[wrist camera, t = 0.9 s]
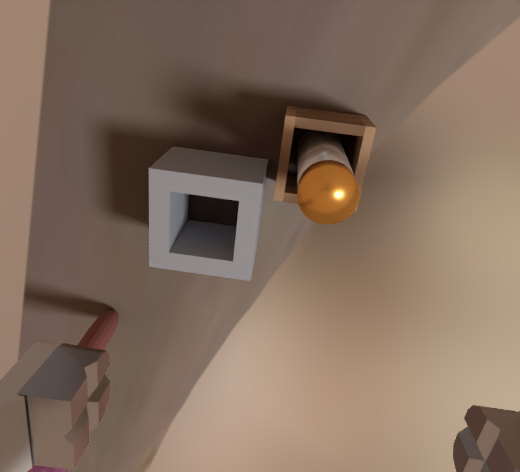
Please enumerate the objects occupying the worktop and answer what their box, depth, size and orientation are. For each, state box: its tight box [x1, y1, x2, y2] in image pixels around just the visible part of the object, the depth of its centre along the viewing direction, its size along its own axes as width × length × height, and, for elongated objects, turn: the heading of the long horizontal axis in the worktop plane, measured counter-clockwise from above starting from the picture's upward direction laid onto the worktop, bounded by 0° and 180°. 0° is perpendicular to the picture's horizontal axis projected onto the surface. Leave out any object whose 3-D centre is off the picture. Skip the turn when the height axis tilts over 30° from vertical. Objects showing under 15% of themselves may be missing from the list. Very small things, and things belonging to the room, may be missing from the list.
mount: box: [274, 105, 376, 211], centre depth 35 cm, size 7×7×5 cm
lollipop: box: [27, 310, 118, 472], centre depth 34 cm, size 13×8×30 cm, turn 125°
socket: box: [149, 146, 268, 281], centre depth 37 cm, size 9×9×7 cm
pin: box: [297, 130, 360, 224], centre depth 32 cm, size 4×4×12 cm
